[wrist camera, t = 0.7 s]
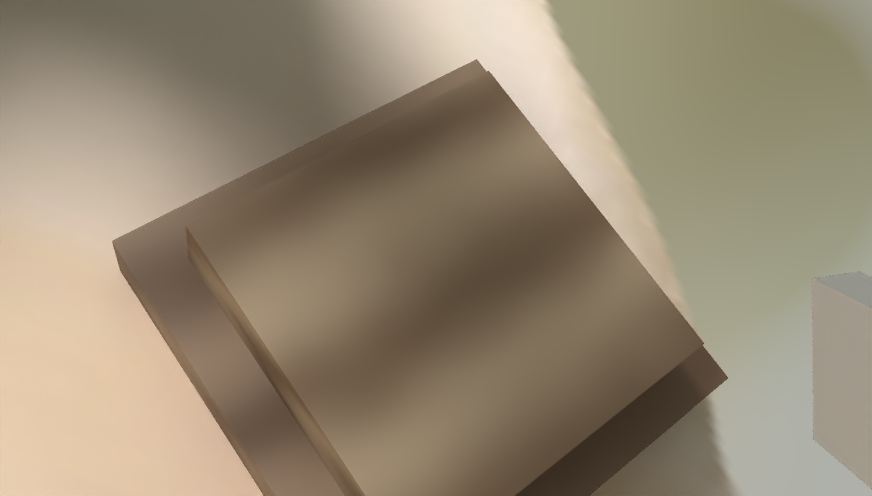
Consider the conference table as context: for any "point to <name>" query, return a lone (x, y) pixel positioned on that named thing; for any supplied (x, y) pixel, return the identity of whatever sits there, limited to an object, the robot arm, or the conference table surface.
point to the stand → (419, 310)
